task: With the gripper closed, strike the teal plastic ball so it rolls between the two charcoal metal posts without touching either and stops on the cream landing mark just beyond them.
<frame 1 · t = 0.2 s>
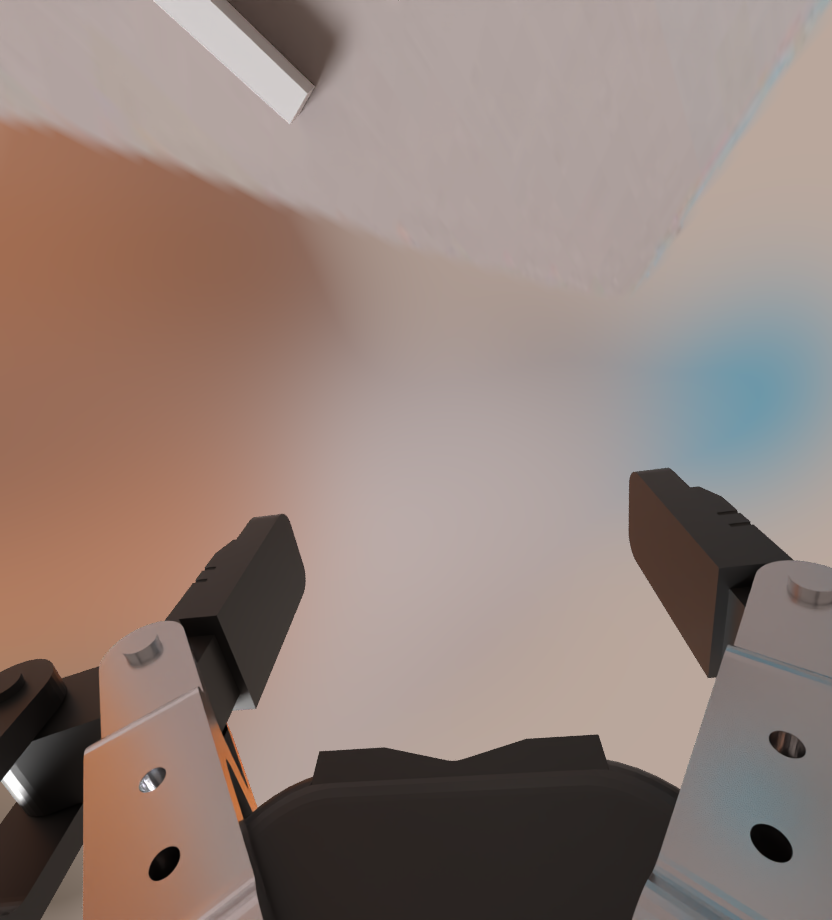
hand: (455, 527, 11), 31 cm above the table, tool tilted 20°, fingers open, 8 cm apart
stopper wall: (234, 33, 28), on the table
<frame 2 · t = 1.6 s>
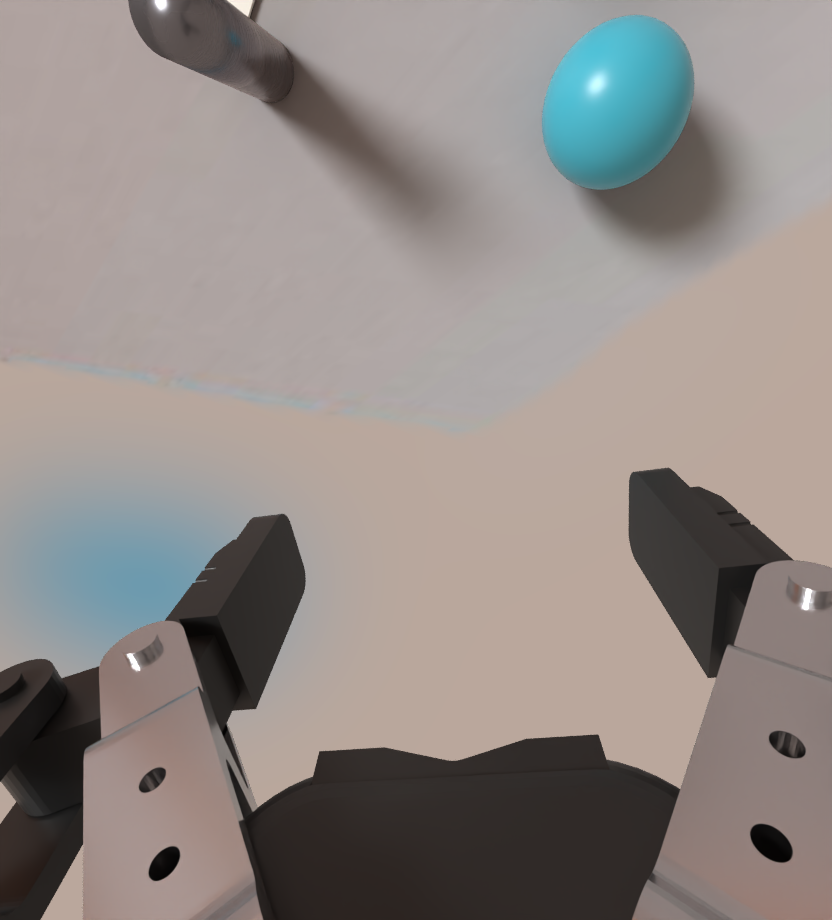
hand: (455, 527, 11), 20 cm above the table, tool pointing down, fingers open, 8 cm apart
post 2: (267, 69, 24), on the table
ball: (613, 109, 21), on the table
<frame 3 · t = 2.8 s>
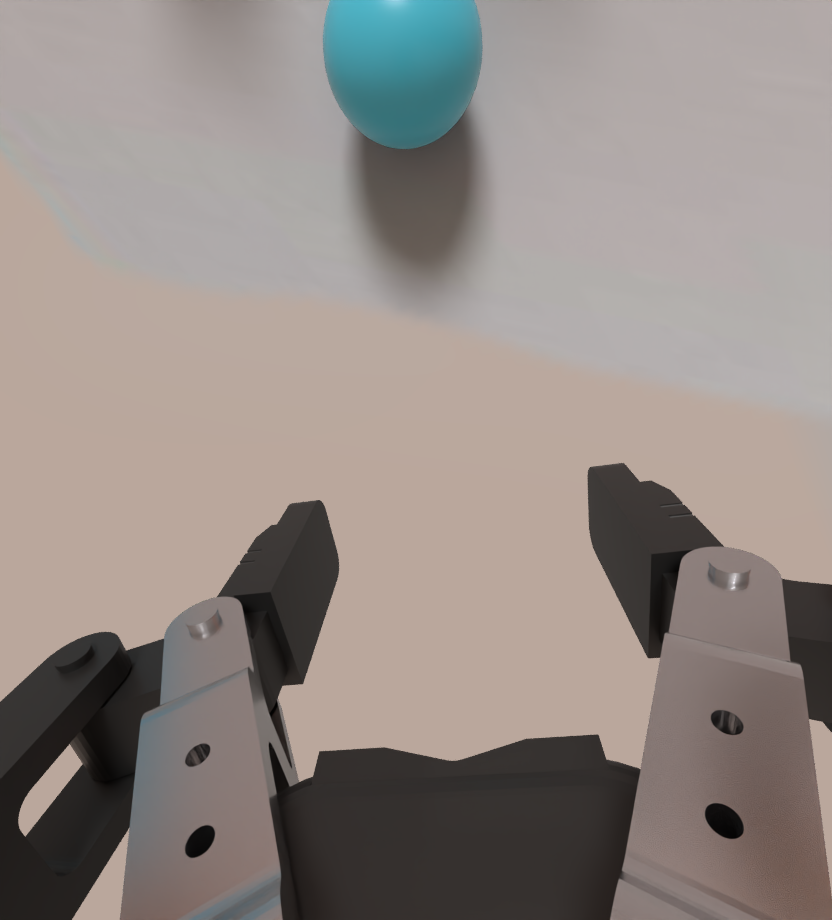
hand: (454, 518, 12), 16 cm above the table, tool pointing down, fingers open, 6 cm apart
ball: (403, 55, 18), on the table
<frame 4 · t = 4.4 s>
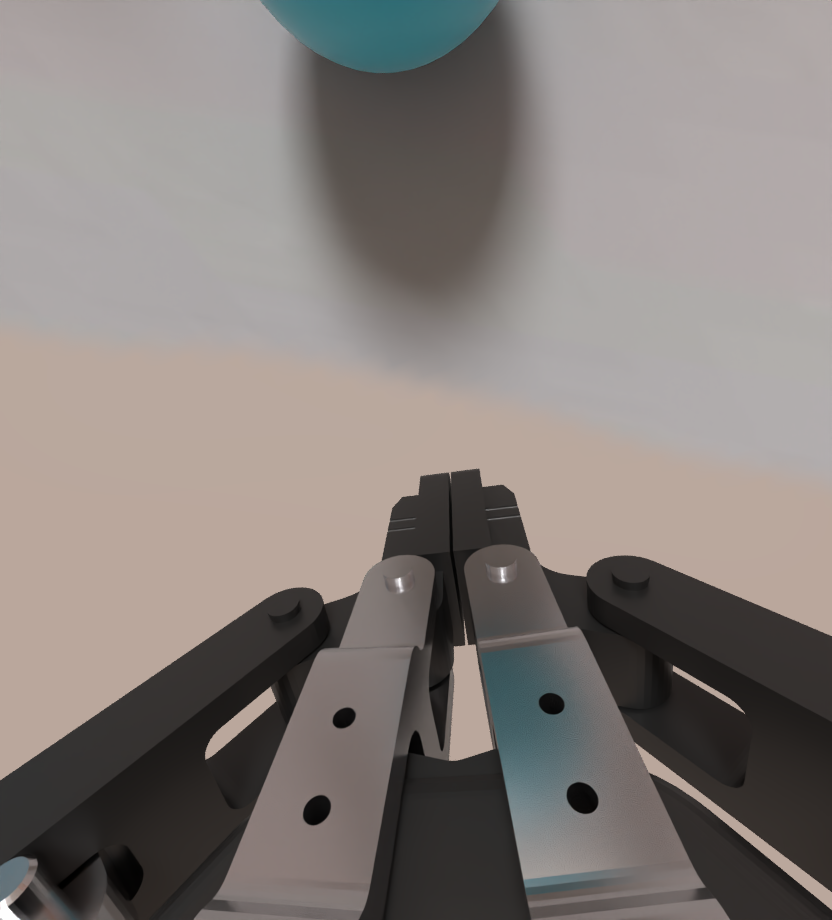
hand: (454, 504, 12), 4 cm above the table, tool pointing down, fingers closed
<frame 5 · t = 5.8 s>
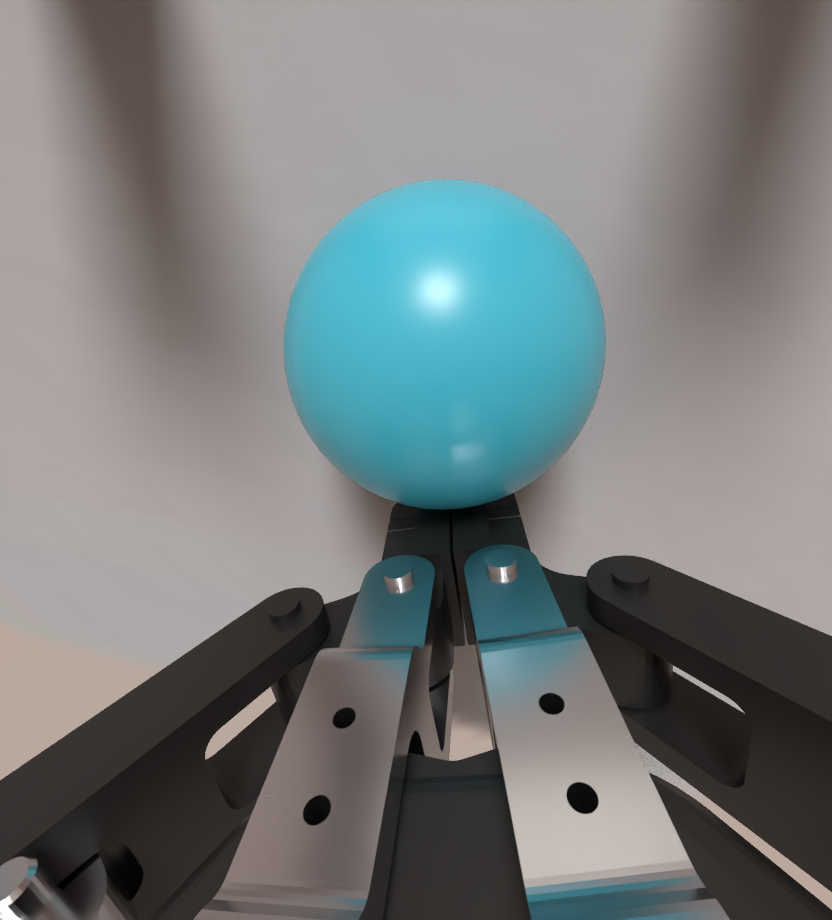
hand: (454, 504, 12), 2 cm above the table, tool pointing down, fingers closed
ball: (441, 356, 9), on the table
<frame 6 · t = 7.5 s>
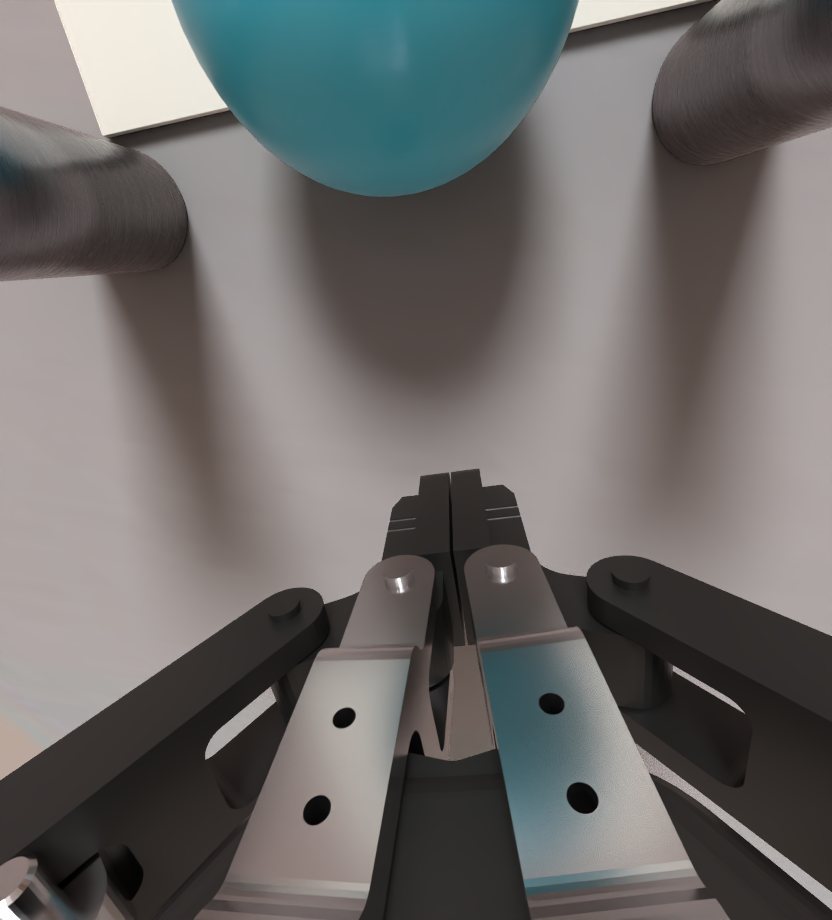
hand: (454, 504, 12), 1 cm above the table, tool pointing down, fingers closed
post 2: (132, 212, 11), on the table
post 1: (718, 91, 10), on the table
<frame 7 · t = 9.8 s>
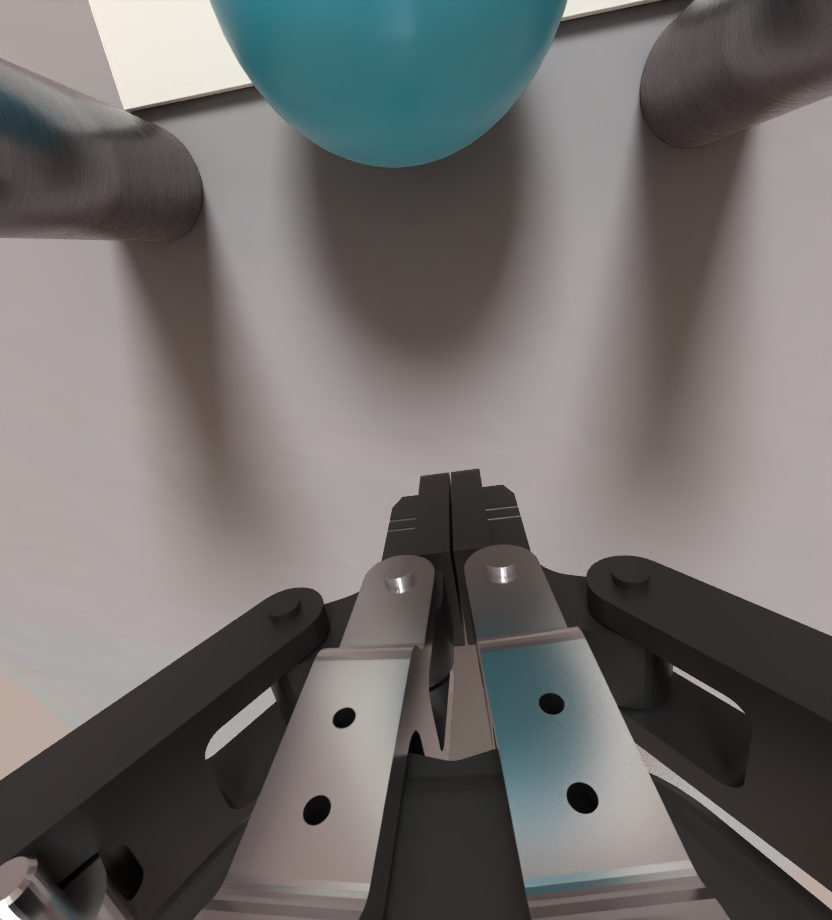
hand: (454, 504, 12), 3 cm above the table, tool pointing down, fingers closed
post 2: (150, 184, 12), on the table
post 1: (701, 78, 11), on the table
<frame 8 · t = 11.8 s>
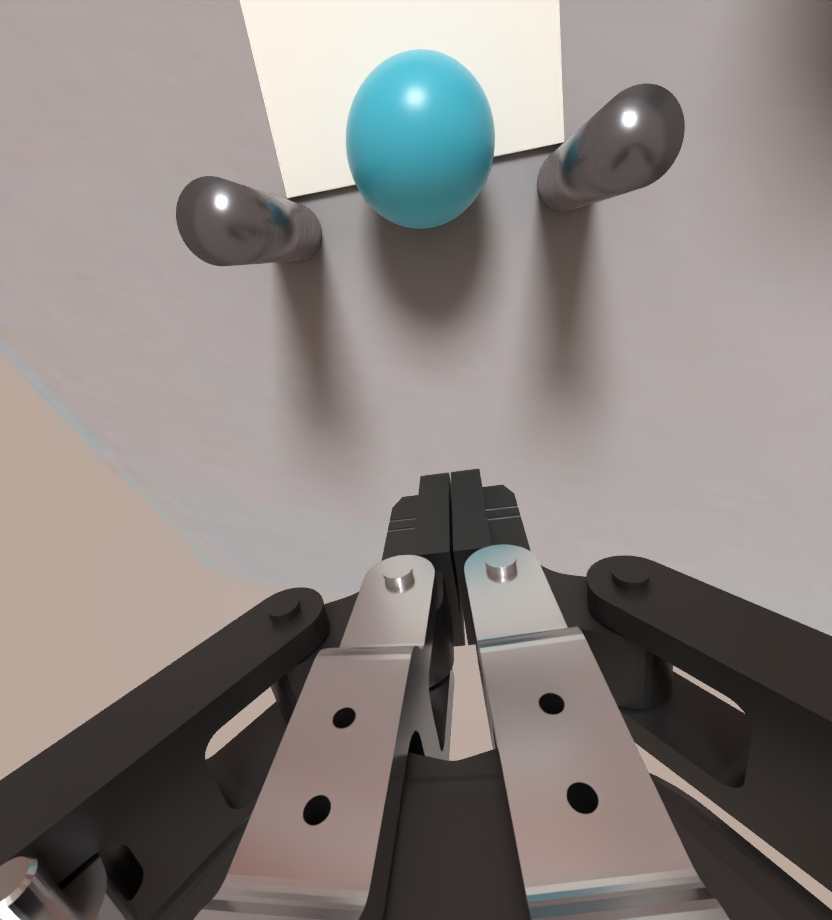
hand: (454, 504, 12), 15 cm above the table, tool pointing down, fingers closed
post 2: (295, 232, 24), on the table
ball: (420, 146, 19), on the table
post 1: (565, 180, 22), on the table
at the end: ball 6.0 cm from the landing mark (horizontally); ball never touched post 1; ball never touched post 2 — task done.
